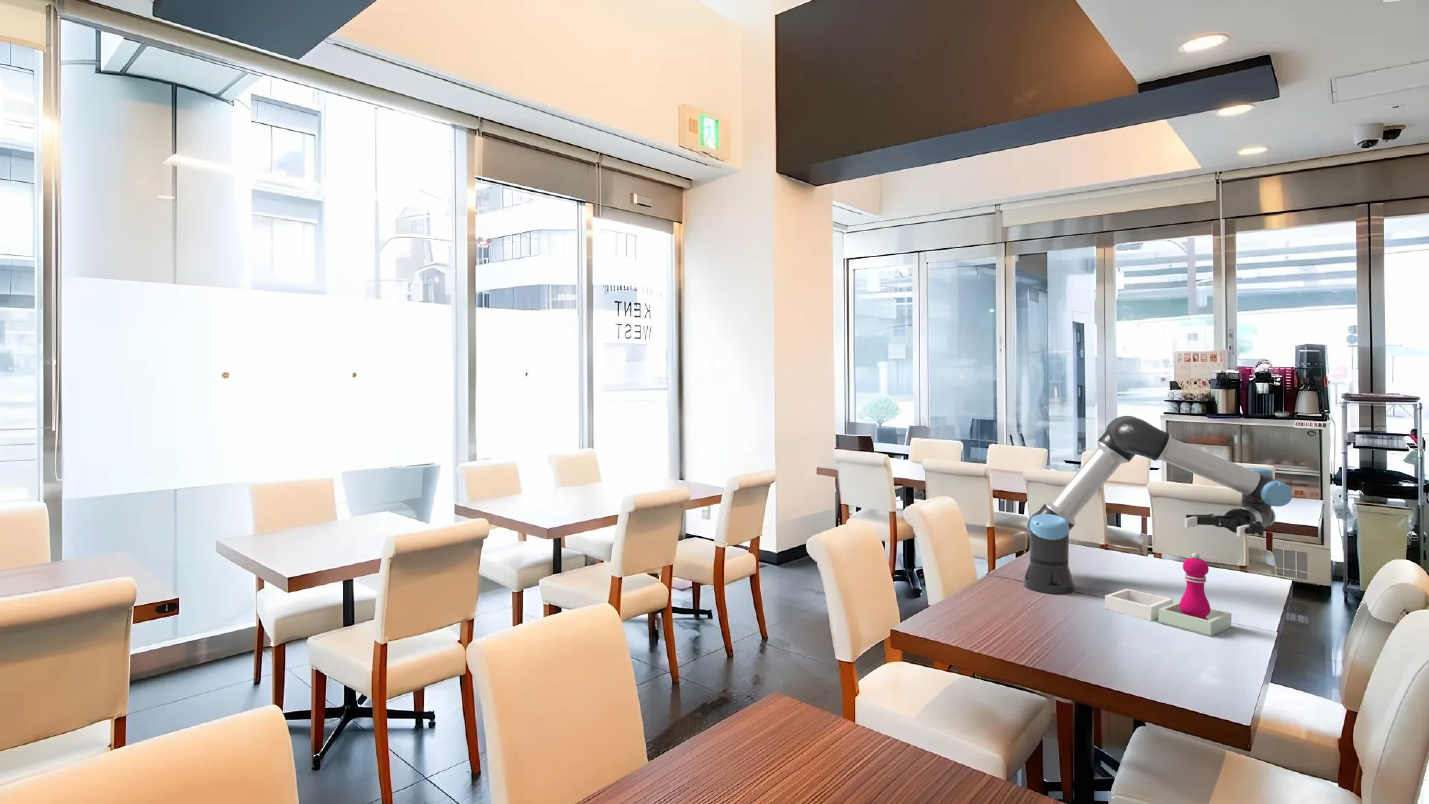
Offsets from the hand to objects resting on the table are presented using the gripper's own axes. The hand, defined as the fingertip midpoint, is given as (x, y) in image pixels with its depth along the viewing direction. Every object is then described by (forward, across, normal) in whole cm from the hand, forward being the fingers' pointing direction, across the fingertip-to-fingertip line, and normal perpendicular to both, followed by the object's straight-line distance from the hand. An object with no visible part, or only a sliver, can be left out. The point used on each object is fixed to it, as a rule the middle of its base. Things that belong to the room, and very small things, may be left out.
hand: (1211, 527), depth 207 cm
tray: (+15, -3, -26) cm, 30 cm away
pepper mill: (+15, -3, -25) cm, 29 cm away
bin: (+15, +12, -26) cm, 32 cm away
